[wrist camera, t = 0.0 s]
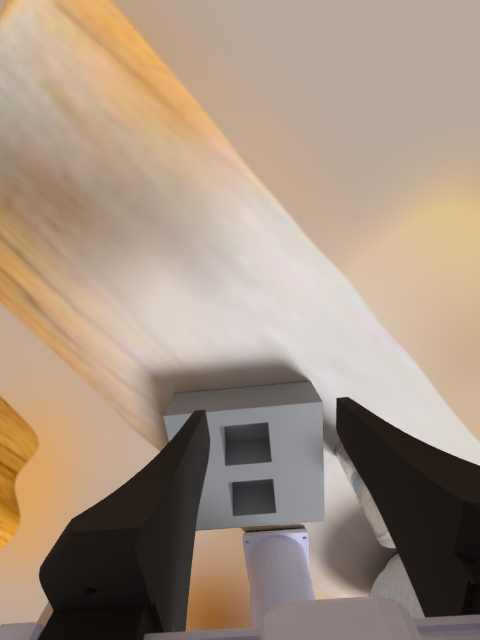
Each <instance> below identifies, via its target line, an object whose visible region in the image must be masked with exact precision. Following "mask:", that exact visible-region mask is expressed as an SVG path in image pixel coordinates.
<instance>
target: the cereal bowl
mask: <svg viewBox="0 0 480 640" xmlns="http://www.w3.org/2000/svg"><path fill="white" fill-rule="evenodd" d="M373 596H375V597H384V598H391V599H393V600H394V601H396V602H398V603H399V604H401V605H402V606H404V607H405V608H407V609H408V610H409V613H410V615H411V617H412V618H425V616H424V614H423V611H422V609H421V606H420V604H419V601H418V599H417V596H416V594H415V591H414V589H413V587H412V584H411V582H410V580H409V577H408V575H407V572H406V570H405V568H404V565H403V563H402V561H401V558H400V556H399V554H398V553H397V554H396V555H394V556H393V557H392V558H391V559H390V560H389V561H388V563H387V564H386V566H385V569H384V570H383V571H382V572H381V573H380V574H379V576H377V579H376V580H375V583H374V584H373V587H372V589H371V593H370V596H369V597H373Z"/></svg>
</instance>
